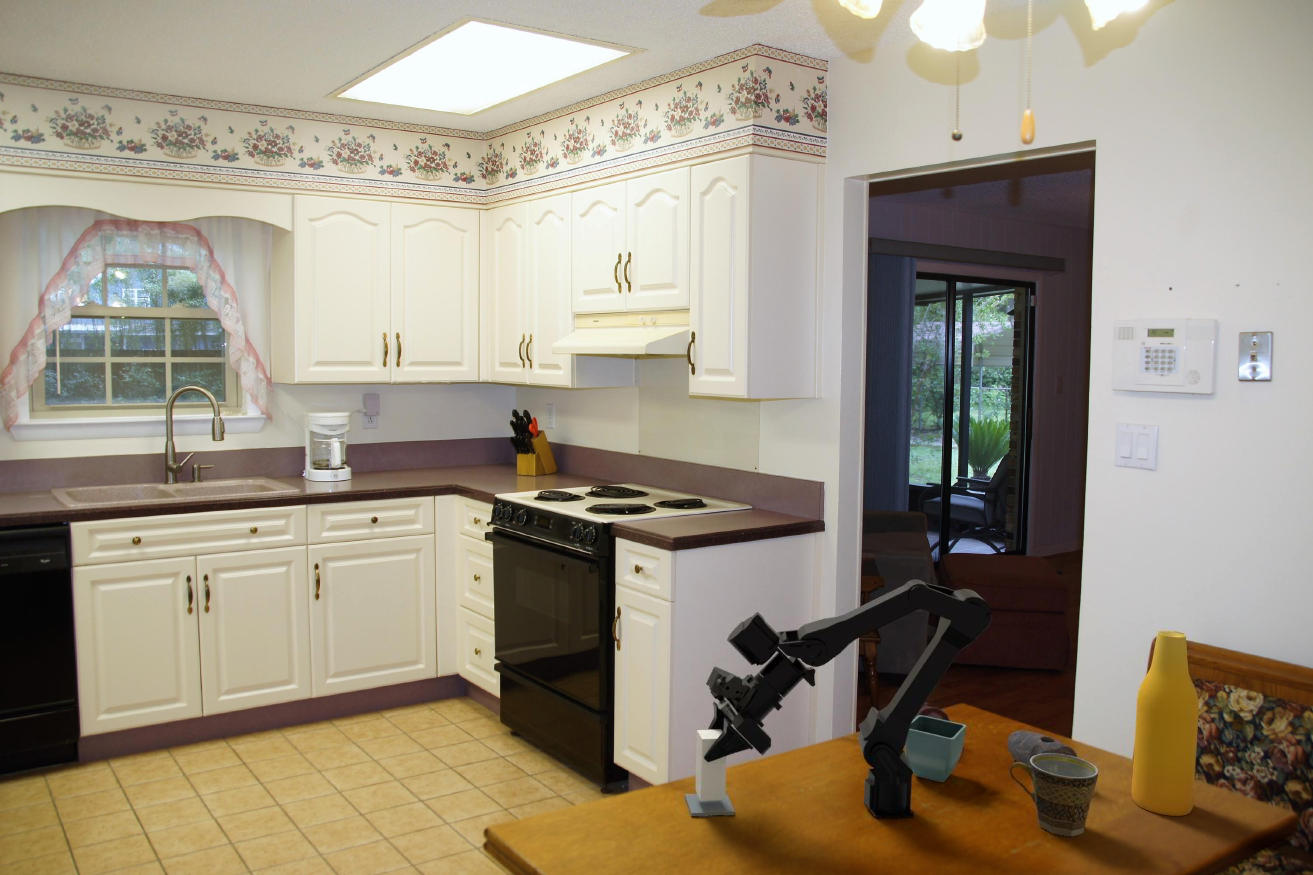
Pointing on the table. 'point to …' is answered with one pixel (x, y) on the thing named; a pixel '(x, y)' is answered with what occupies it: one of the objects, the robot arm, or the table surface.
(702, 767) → the tall block
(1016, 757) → the perforated stone tool
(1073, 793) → the ceramic cup
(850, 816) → the table surface
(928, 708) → the icecream
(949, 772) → the flower pot
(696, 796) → the slate mat
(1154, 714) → the beer bottle
